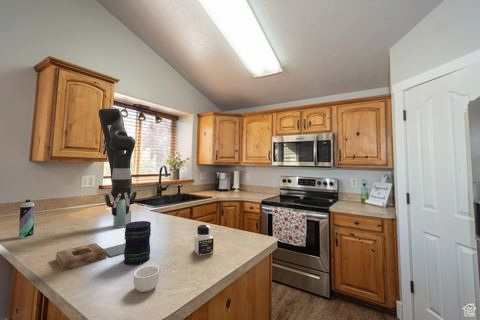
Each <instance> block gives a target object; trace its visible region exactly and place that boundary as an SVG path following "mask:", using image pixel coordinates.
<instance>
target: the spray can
mask: <svg viewBox="0 0 480 320" xmlns="http://www.w3.org/2000/svg"><path fill="white" fill-rule="evenodd" d="M35 204H36V203H34V202H32V201H31V199H25V201H24V202H23V203H21V204H20V206H19V208H20V209H19V223H18V225H19V228H18V229H19V230H18V239H21V240H22V239H30V238H32V237H34V232H35V230H34V229H35V227H34V226H35Z"/></svg>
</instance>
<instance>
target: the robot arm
mask: <svg viewBox="0 0 480 320" xmlns="http://www.w3.org/2000/svg"><path fill="white" fill-rule="evenodd" d="M98 118H99V122H100V125H101V130H102V134H103V139H104V144H105V149H106V150H105V151H106V154H107V155H106V156H107V158H108V159H107V160H108V165H109V171H110V180H111V182H110V183H111V191H110V192H109V193H104V194H103V197H104V201H105V204H106V207H109V208H110V209H111V215H112V216H113V225H112V226H113V228H115V229H117V228H118V229H120V228H125V225H126V224H128V223H131V222H132V210H131V205H134V203H135V199H136V198H137V194H138V192H137V191H132V184H133V177H132V174H131V173H132V172H131V162H132V161H131V159H132V156H133V152H134V149H135V147H136V140H135V138H134V137H133V136H129V135H128V132H127V130H126V128H125V122H124V119H123V118H124V117H123V114H122V111H121V110H120V109H119V108H116V107H115V108H100V109H99V110H98ZM109 126H110V127H109ZM111 196H112V197H111ZM111 198H112V201H111ZM122 199H126V224H125V225H124V226H119V227H116V226H115V216H116V210H117V208H116V206H117V203H118V201H119V200H122Z"/></svg>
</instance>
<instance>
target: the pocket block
mask: <svg viewBox="0 0 480 320" xmlns="http://www.w3.org/2000/svg"><path fill="white" fill-rule="evenodd" d="M104 249H105V248H103V247H101V246H100V245H99V244H98V243H97V242H94V243H91V244H90V243H89V244H86V245H82V246H77V247H73V248H68V249H64V250H59V251H56V253H55V261H57V263H58V265H59V267H60V268H61V269H62V271H65V272H66V271H68V270H71V269H74V268H78V267H81V266H84V265H89V264H91V263H95V262H98V261H102V260H106V259H107V254H106V251H105V250H104Z"/></svg>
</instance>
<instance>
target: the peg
mask: <svg viewBox="0 0 480 320" xmlns="http://www.w3.org/2000/svg"><path fill="white" fill-rule="evenodd" d="M116 208H117V210H116V216H115V226H116V227H119V226H124V225H125V224H126V199H122V200H119V201H118V203H117V206H116Z"/></svg>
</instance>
